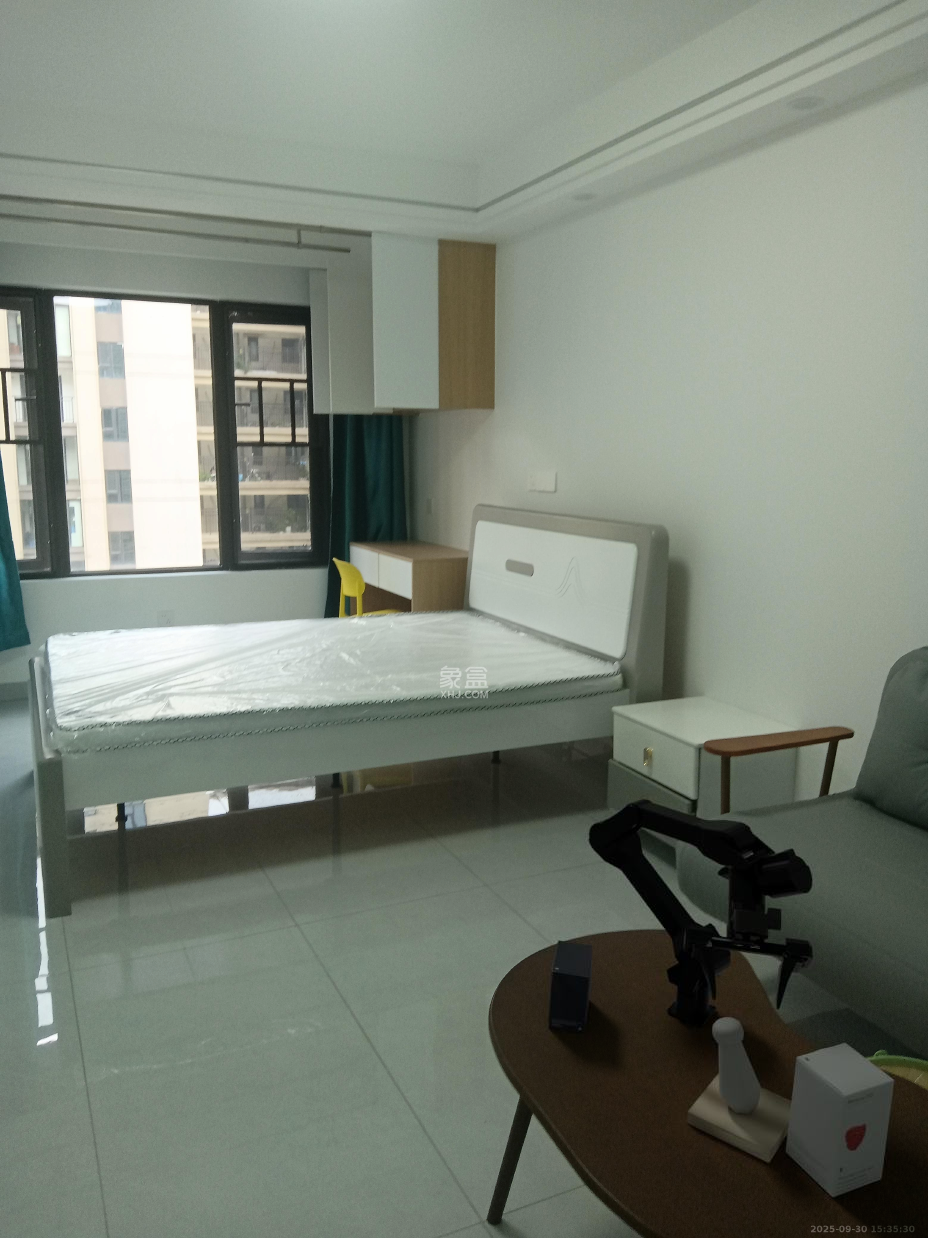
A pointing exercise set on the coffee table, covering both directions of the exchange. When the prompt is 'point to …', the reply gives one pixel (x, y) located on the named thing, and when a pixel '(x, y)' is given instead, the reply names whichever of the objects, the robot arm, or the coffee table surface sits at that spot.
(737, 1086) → the salt shaker
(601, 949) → the coffee table surface
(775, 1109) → the oak block
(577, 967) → the small box
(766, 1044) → the coffee table surface
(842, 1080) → the supplement box
